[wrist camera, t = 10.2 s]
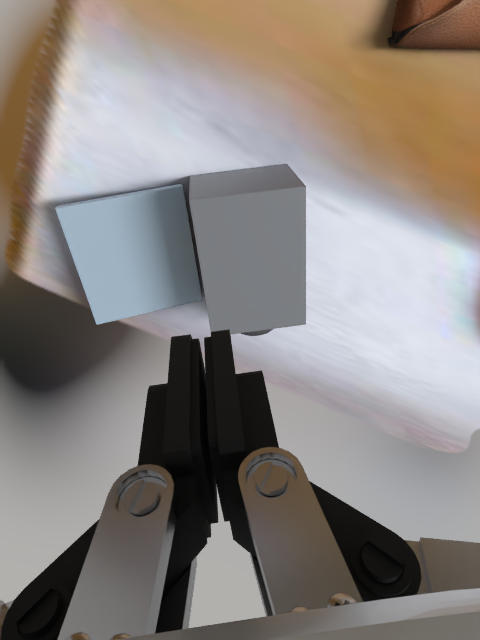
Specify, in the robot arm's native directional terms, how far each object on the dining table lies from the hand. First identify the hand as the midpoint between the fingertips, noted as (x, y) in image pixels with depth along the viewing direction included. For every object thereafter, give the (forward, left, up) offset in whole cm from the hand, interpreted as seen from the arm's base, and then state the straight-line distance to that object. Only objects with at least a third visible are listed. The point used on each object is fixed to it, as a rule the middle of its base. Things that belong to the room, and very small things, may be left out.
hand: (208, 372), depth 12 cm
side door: (+8, -2, -28) cm, 29 cm away
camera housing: (+8, +3, -29) cm, 30 cm away
